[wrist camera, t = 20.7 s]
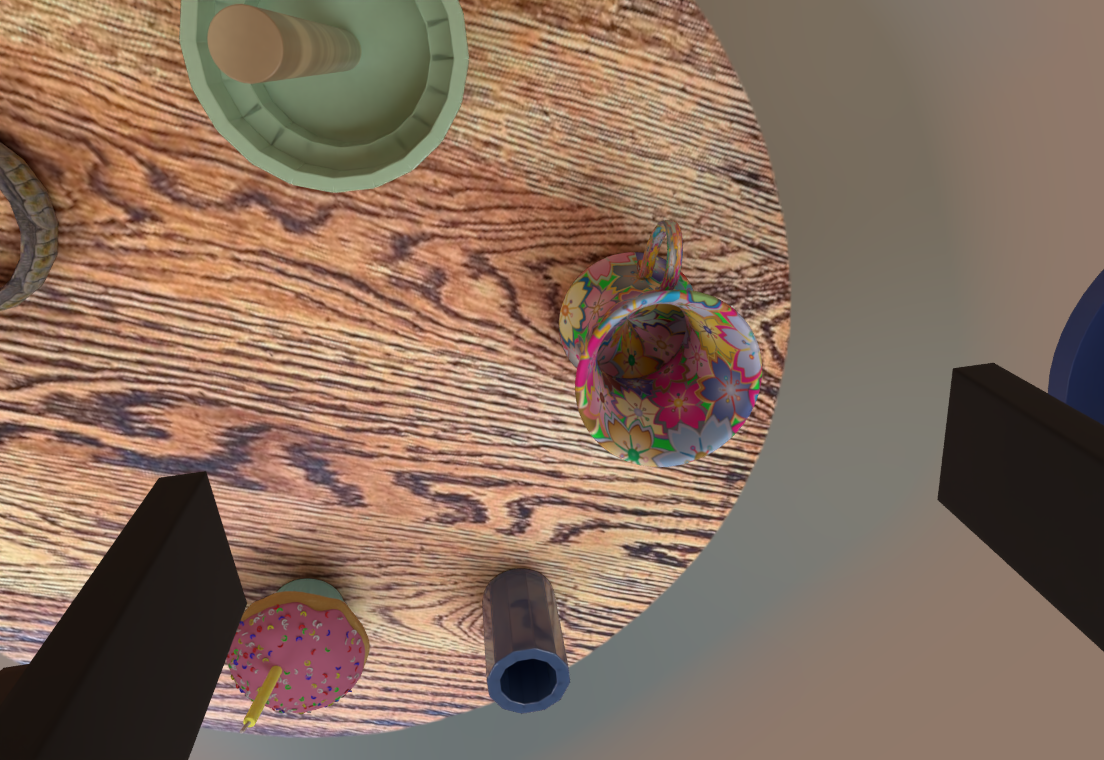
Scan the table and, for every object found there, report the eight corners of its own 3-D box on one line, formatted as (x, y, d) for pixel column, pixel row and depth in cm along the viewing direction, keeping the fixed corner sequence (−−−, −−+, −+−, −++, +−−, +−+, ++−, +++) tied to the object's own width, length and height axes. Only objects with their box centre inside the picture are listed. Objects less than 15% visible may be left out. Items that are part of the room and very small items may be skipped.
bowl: (447, -99, 38) (445, -125, 33) (480, 160, 43) (483, 176, 37) (188, -76, 37) (142, -99, 32) (252, 186, 42) (221, 205, 37)
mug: (691, 386, 50) (749, 466, 40) (547, 387, 49) (571, 470, 39) (713, 196, 45) (785, 234, 36) (555, 192, 44) (585, 231, 34)
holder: (550, 563, 54) (565, 643, 46) (557, 620, 56) (572, 706, 48) (478, 574, 53) (482, 656, 46) (487, 631, 55) (492, 719, 48)
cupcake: (218, 613, 52) (156, 762, 41) (297, 530, 50) (255, 662, 39) (322, 674, 55) (290, 828, 44) (401, 598, 53) (387, 738, 42)
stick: (357, 26, 39) (274, 0, 21) (364, 69, 40) (291, 79, 22) (317, 30, 39) (197, 7, 21) (325, 73, 40) (217, 87, 22)
